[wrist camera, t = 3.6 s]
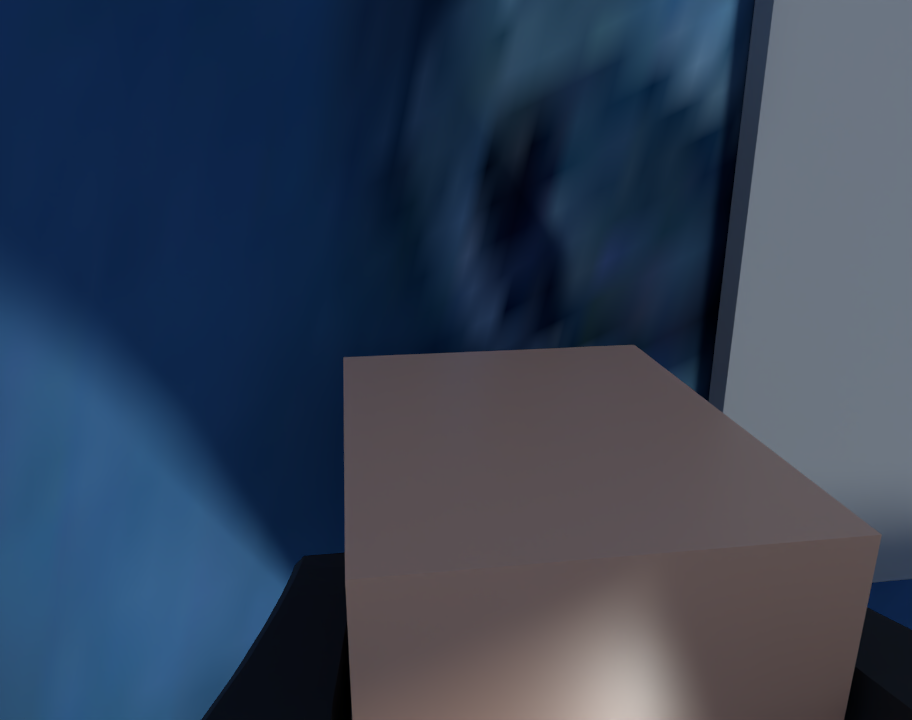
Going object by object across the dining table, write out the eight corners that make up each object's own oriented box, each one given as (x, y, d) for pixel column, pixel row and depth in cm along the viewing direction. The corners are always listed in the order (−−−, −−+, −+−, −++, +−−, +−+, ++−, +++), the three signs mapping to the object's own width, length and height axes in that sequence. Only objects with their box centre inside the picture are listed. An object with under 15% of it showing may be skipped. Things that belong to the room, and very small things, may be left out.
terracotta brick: (634, 344, 10) (882, 534, 6) (606, 695, 12) (774, 1059, 7) (343, 356, 10) (345, 580, 5) (360, 722, 12) (374, 1136, 7)
